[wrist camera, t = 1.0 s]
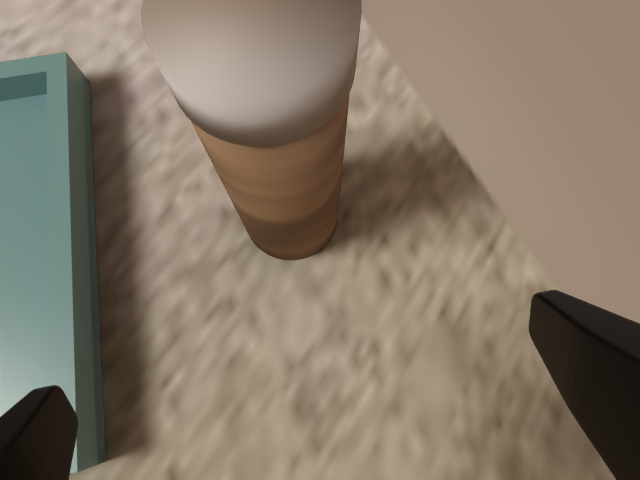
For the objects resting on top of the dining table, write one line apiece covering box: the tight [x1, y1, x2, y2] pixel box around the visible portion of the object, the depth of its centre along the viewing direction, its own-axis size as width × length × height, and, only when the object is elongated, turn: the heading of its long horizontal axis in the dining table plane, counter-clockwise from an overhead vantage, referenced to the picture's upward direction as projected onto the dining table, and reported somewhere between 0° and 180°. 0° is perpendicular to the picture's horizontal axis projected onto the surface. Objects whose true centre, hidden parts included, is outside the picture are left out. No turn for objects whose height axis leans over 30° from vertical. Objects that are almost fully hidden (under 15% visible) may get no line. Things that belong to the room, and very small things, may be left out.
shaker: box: [141, 0, 361, 260], centre depth 17 cm, size 5×5×14 cm
